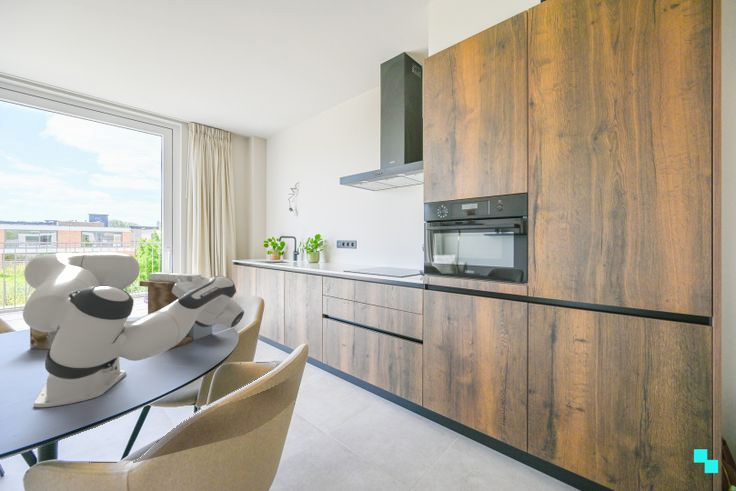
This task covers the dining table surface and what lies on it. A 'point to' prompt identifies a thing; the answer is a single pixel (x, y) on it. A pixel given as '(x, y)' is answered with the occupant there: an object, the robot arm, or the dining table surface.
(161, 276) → the aluminium bar
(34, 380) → the dining table surface
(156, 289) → the walnut stand
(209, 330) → the block
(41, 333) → the coffee box
